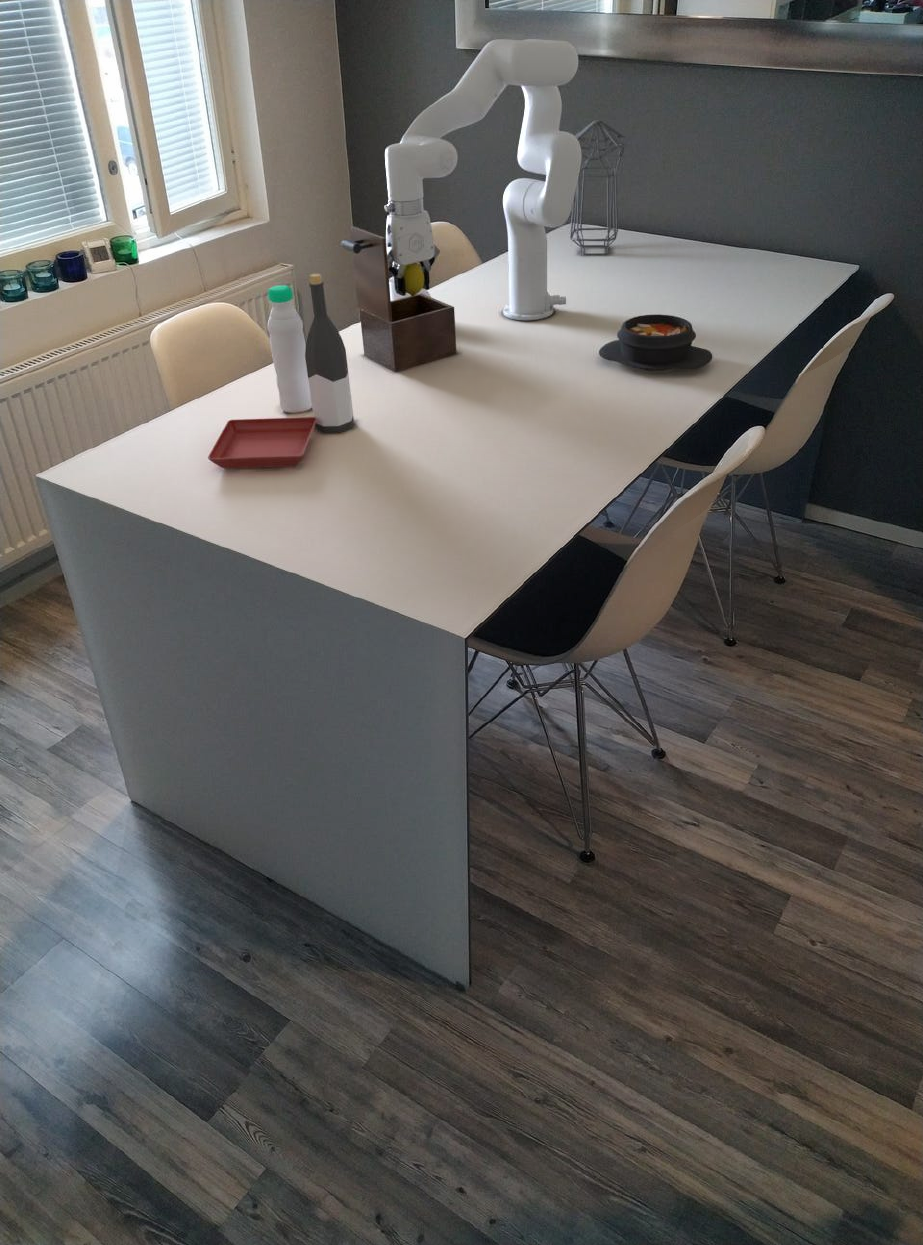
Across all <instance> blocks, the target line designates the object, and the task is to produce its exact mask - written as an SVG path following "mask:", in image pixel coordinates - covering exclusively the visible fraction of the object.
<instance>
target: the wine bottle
mask: <svg viewBox="0 0 923 1245" xmlns="http://www.w3.org/2000/svg"><path fill="white" fill-rule="evenodd" d="M309 280H310V282H309V288H310V295H311V302H312V309H313V319H312V322H311V325H310V328H309V330H308V333H307V337H306V341H305V344H306V349H305V360H306V367H307V374H308V381H309V388H310V395H311V402H312V407H311V408H312V417H316V418H317V421H316V424H315V426H314V429H315V430H317V431H319V432H320V433H322V434H341V433H344V432H347V431H348V430H350V429H351V430H352V428H353V425H354V408H353V401H352V391H351V385H350V384H351V383H350V376H349V366H348V359H347V358H348V356H347V351H346V350H347V349H346V346H345V343H344V340H343V338H342V336H341V334H340V332H339V330H338V328H337V327H336V326H335V324H334V323H333V321H332V320H331V318H330V317H329V316H328V311H327V304H326V295H325V288H324V281H323V280H322V274H321V273H312V274H310V275H309Z"/></svg>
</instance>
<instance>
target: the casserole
mask: <svg viewBox="0 0 923 1245" xmlns="http://www.w3.org/2000/svg"><path fill="white" fill-rule="evenodd" d="M616 337H617V339H615V340H611V341H609V342H607V343H605V344H604V345H603V346H601V347H600V348H599V350H598V355H599V357H601V358H602V359H604V360H607V361H611V362H616V363H619V364H621V365H623V366H626V367H629V368H632V369H636V370H643V371H649V372H664V371H670V370H696V369H700V368H702V367H704V366H707V365H708V364H709V363H710V362H712V360H713V353H712V352H711V351H710V350H708V349H706V348H702V347H698V346H694V345H692V344H693V341H694V340H696V337H697V334H696V331H694V328H693V325H692V323H691V322H690V321H689V320H687V319H685V318H683V317H679V316H675V315H670V314H644V315H637V316H633V317H631V318H627V320H625V321H623V323H622V324H621V327H620V329H619V330H618V331H617V333H616Z"/></svg>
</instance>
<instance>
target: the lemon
mask: <svg viewBox="0 0 923 1245" xmlns="http://www.w3.org/2000/svg"><path fill="white" fill-rule="evenodd" d="M402 277H404V278H405V289H406V293H408V294H410V295H411V296H415V295H416V293H418V292H420V291H421V289H422V288H423V285H424V274H423V270H422V268H421V266H420V265H419V263H418V262H417V263H412V264H408V265H404V269H403V274H402Z"/></svg>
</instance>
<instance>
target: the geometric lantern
mask: <svg viewBox="0 0 923 1245" xmlns="http://www.w3.org/2000/svg"><path fill="white" fill-rule="evenodd" d="M599 130H600V132H601V134H602V138H603V139H601V140H600V139H599V138H600V137H599ZM590 131H591V134H590V137H589V138H588V137H586V136H587V134H589V132H590ZM606 135H607V136H608V137H607V136H606ZM574 136H575V137H576V138H577V140H578V141H579V143H582V144H583V145H585V146H581V145H580V147H581V150H582V149H583V150H586V152H587V156H586V155H585V154H584V153H582V152H581V157H583V158H584V159H585V162H584V163H583V165H582V166H581V167H580V171H579V176H578V181H577V186H576V191H575V196H574V201H573V206H572V209H571V220H570V235H569V240H570V241H572V242H573V243H575V244H576V245H577V246H578V247H579V255H582V256H607V255H609V254H610V246H611V245H612V244H613V243H614V241H616V239H617V237H618V234H619V233H618V232H619V215H618V214H619V212H618V174H617V173H618V168H619V166H620V163H621V159H622V157H623V156H624V155H623V154H624V152H625V148H626V145H625V139H626V136H624V135H623V134H621V133H620V132H619V131H617V130H615V128H613V127H611V126H610V125H609V124H606V123H605V122H604V121H603V120H600V119H596V120H595V119H594V121H592V122H590V123H589V124H588V125H587V126H585V127H584V128H582V130H580V131H579V132H578V133H576V134H575V135H574ZM593 137H594V138H593ZM620 138H621V139H620ZM609 140H611V141H610V143H609V144H608V141H609ZM585 141H588V143H587V142H585ZM592 142H595V146H592V145H591V144H592ZM600 143H605V144H604V147H600ZM613 144H614V145H613ZM618 148H619V151H618V154H617V155H616V158H615V161H614V164H613V165H612V164H611V163H610V161H609V158H608V157H607V155H609V154H610V153H612V152H614V151H615V150H616V149H617V150H618ZM590 150H592V152H591V154H590ZM606 150H608V151H606ZM596 151H597V157H593V156H594V153H595V152H596ZM600 152H602V153H603V154H601V155H600ZM603 157H605V160H606V161H607V163H608V165H609V166H606V165H605V163H604V161H603V159H602V158H603ZM597 160H599V161H600V163H601V166H602V167H601V166H599V167H597V166H596V167H587V166H588V165H589V163H590V162H591V161H592V162H593V161H597ZM616 163H617V164H616ZM608 169H610V170H611V173H609V171H608ZM586 170H604V171H605V173H606V175H600V174H599V175H588V174H587V175H586ZM581 172H582V175H580V173H581ZM580 178H582V183H581V184H582V185H581V186H582V187H581V202H580V180H581V179H580ZM585 178H606V226H607V227H582V226H583V214H584V195H585V181H586V179H585ZM610 178H611V180H610ZM610 182H611V183H610ZM612 226H613V227H612ZM579 231H580V236H581V237H580V236H579ZM583 231H607V233H606V237H605V238H584V234H583ZM612 231H613V234H612V235H611V236H610V233H611V232H612ZM574 234H575V235H576V238H574ZM585 242H603V244H585ZM587 248H588V249H589V248H593V249H594V248H600V249H601V248H603V249H604V253H585V249H587Z"/></svg>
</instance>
